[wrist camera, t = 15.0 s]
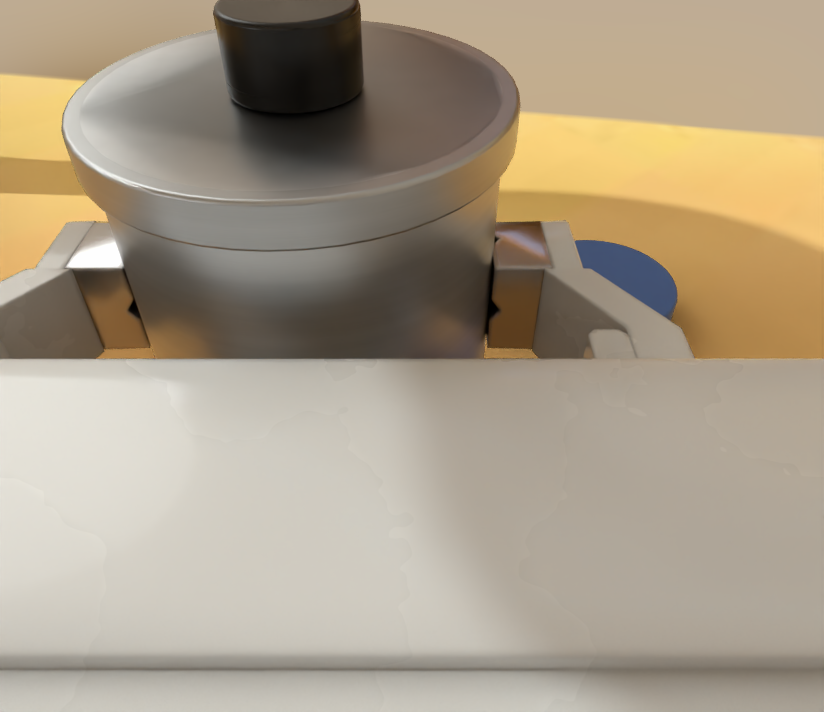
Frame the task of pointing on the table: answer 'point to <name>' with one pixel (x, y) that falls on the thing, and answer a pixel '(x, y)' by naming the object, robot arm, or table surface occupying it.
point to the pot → (301, 184)
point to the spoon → (631, 273)
